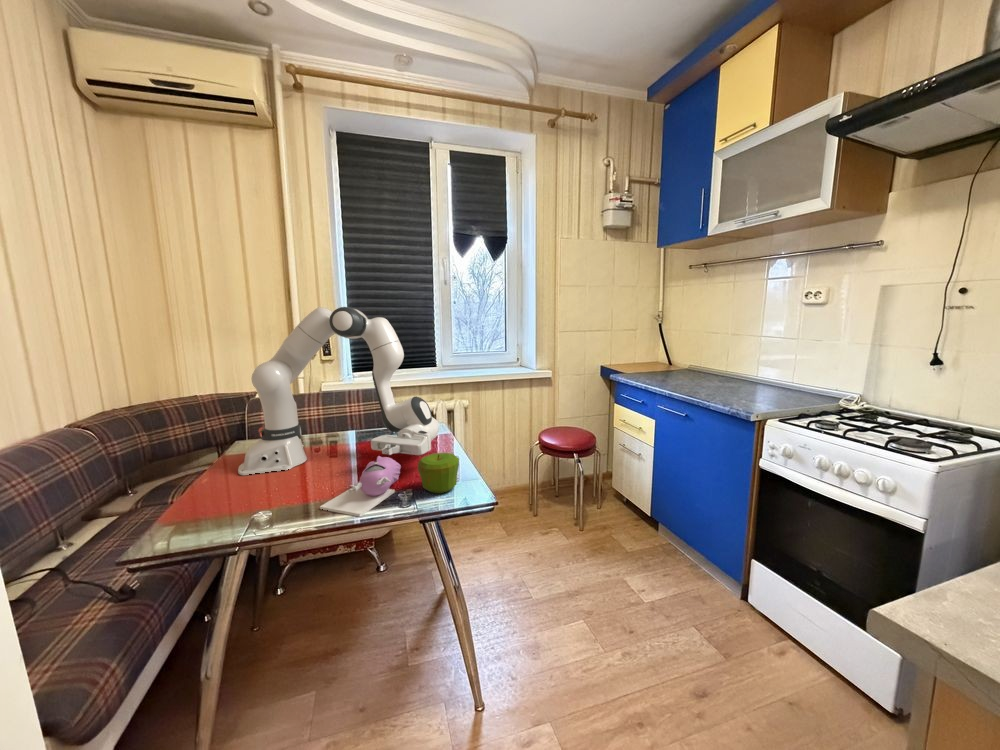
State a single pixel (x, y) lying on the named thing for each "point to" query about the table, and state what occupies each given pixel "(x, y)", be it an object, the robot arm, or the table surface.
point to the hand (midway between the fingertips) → (385, 452)
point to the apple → (438, 472)
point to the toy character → (378, 476)
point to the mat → (355, 502)
